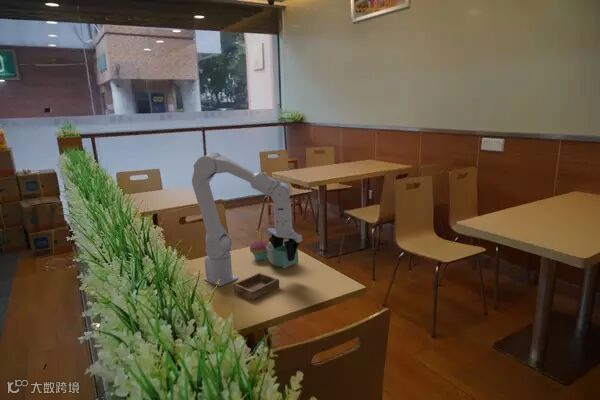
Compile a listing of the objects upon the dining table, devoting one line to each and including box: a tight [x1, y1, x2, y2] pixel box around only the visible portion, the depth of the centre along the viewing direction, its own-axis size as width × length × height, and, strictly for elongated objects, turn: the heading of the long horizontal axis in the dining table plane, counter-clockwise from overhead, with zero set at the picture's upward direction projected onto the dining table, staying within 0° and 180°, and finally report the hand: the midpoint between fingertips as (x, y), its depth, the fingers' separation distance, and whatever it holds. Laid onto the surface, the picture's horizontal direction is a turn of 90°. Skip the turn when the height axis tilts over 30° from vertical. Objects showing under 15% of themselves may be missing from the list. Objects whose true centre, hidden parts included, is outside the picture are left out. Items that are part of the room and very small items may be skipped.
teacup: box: [266, 239, 289, 268], centre depth 154 cm, size 14×11×8 cm
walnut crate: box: [232, 272, 280, 302], centre depth 132 cm, size 9×11×3 cm
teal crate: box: [272, 245, 299, 269], centre depth 136 cm, size 5×7×6 cm
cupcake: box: [249, 227, 270, 261], centre depth 159 cm, size 9×8×12 cm
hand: (285, 258), depth 137 cm, fingers closed on teal crate, 5 cm apart
